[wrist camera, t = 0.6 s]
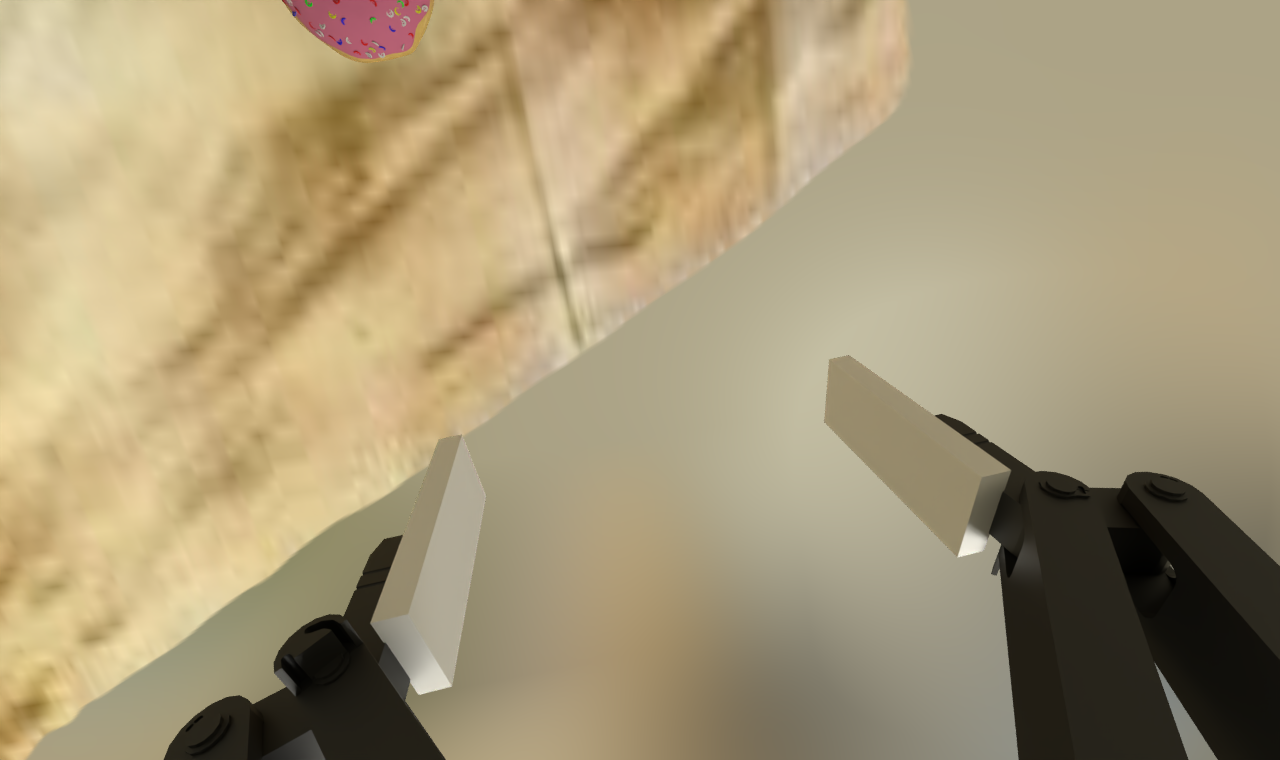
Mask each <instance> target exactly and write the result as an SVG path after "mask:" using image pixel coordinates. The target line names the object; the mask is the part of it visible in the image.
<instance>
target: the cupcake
mask: <svg viewBox="0 0 1280 760" xmlns="http://www.w3.org/2000/svg"><path fill="white" fill-rule="evenodd" d="M282 1H283V2H284V3H285V5H286V6H287V8H288V9H289V11H290V12H291V13H292V15H293V16H294V17H295V18H296V19H297V20H298V21H299V23H300V24H302V25H303V26H304V27H305V28H306V29H307V30H308V31H309V32H311V33H312V34H313V35H315V36H316V37H317V38H318V39H320V40H321V41H322V42H324V43H325V44H326V45H328V46H329V47H331V48H332V49H333V50H335V51H336V52H337V53H339V54H340V55H342V56H344V57H346V58H349V59H351V60H354V61H358V62H364V63H370V62H379V61H385V60H390V59H394V58H398V57H402V56H406V55H409V54H411V53H413V52H414V51H415V49H416V48H417V46H418V44H419V42H420V40H421V38H422V36H423V34H424V32H425V30H426V28H427V25H428V23H429V20H430V17H431V14H432V10H433V5H434V0H282Z"/></svg>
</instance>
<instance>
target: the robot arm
mask: <svg viewBox="0 0 1280 760" xmlns="http://www.w3.org/2000/svg"><path fill="white" fill-rule="evenodd" d="M824 422H825V423H826V424H827V425H828V426H829V427H830V428H831V429H832V430H833V431H834V432H835V433H836V434H837V435H838V436H839V437H840V439H841V440H842V441H844V443H845V444H846V445H847V446H848V447H849V448H850V449H851V450H852V451H853V452H854V453H855V454H856V455H857V456H858V457H859V458H860V459H861V460H862V461H863V462H864V463H865V464H866V465H867V466H868V467H869V468H870V469H871V470H872V471H873V472H874V473H875V474H876V475H877V476H878V477H879V478H880V479H881V480H882V481H883V482H884V483H885V484H886V485H887V486H888V487H889V488H890V489H891V490H892V491H893V492H894V493H895V494H896V495H897V496H898V497H899V498H900V499H901V500H902V501H903V502H904V503H905V505H907V507H908V508H910V510H911V511H912V512H913V513H914V514H915V515H916V516H917V517H918V518H919V519H920V520H921V521H922V522H923V523H924V524H925V525H926V526H927V527H928V528H929V529H930V530H931V531H932V532H933V533H934V534H935V535H936V536H937V537H938V538H939V539H940V540H941V541H942V542H943V543H944V544H945V545H946V546H947V547H948V548H949V549H950V550H951V551H952V552H953V553H954V554H955V555H956V556H957V557H961V556H965V555H969V554H972V553H977V552H981V551H984V549H985V546H986V543H987V540H988V537H989V534H990V535H992V536H993V537H994V538H995V539H996V540H997V541H998V542H999V543H1001V547H1000V550H999V553H998V555H997V558H996V561H995V563H994V566H993V569H992V573H991V574H993V575H997V573H998V570H999V569H1000V576H1001V584H1002V585H1001V586H1002V596H1003V606H1004V616H1005V626H1006V636H1007V646H1008V656H1009V666H1010V677H1011V686H1012V697H1013V707H1014V716H1015V727H1016V737H1017V747H1018V757H1019V760H1188V757H1187V754H1186V752H1185V749H1184V746H1183V743H1182V740H1181V737H1180V734H1179V732H1178V729H1177V726H1176V723H1175V720H1174V717H1173V714H1172V712H1171V709H1170V706H1169V703H1168V700H1167V697H1166V694H1165V692H1164V689H1163V686H1162V683H1161V680H1160V677H1159V674H1158V672H1157V669H1156V666H1155V663H1156V665H1157V667H1158V668H1159V670H1160V671H1161V673H1162V674H1163V676H1164V677H1165V679H1166V680H1167V682H1168V683H1169V685H1170V687H1171V688H1172V690H1173V691H1174V693H1175V694H1176V696H1177V697H1178V699H1179V700H1180V702H1181V703H1182V705H1183V707H1184V708H1185V710H1186V711H1187V713H1188V714H1189V716H1190V717H1191V719H1192V721H1193V722H1194V724H1195V725H1196V726H1197V728H1198V730H1199V731H1200V733H1201V734H1202V736H1203V737H1204V739H1205V741H1206V742H1207V744H1208V745H1209V747H1210V748H1211V750H1212V751H1213V753H1214V755H1215V756H1216V758H1217V759H1218V760H1280V566H1279V565H1278V564H1277V563H1276V562H1275V561H1274V560H1273V559H1272V558H1271V557H1269V556H1268V555H1267V554H1266V553H1265V552H1264V551H1263V550H1262V549H1261V548H1260V547H1259V546H1258V545H1257V544H1256V543H1255V542H1254V541H1253V540H1251V538H1249V537H1248V536H1247V535H1246V534H1245V533H1244V532H1243V531H1242V530H1241V529H1240V528H1239V527H1238V526H1237V525H1236V524H1235V523H1234V522H1232V521H1231V520H1230V519H1229V518H1228V517H1227V516H1226V515H1225V514H1224V513H1223V512H1222V511H1221V510H1220V509H1219V508H1218V507H1217V506H1216V505H1215V504H1214V503H1213V502H1211V501H1210V500H1209V499H1208V498H1207V497H1206V496H1205V495H1204V494H1203V493H1202V492H1200V491H1199V490H1197V489H1196V488H1194V487H1193V486H1191V485H1190V484H1187V483H1185V482H1183V481H1181V480H1179V479H1177V478H1173V477H1169V476H1167V475H1163V474H1158V473H1151V472H1135V473H1132V474H1130V475H1128V476H1127V478H1126V480H1125V481H1124V484H1123V485H1122V488H1089V487H1088V486H1086V485H1085V484H1083V483H1082V482H1080V481H1078V480H1076V479H1074V478H1072V477H1070V476H1067V475H1063V474H1060V473H1056V472H1047V471H1039V472H1035V471H1033V470H1032V469H1030V468H1029V467H1027V466H1026V465H1024V464H1023V463H1022V462H1020V461H1019V460H1017V459H1016V458H1014V457H1013V456H1011V455H1010V454H1008V453H1007V452H1005V451H1004V450H1002V449H1001V448H1000V447H998V446H997V445H995V444H994V443H992V442H989V441H988V439H986V438H984V437H983V436H982V435H980V434H977V433H976V431H974V430H973V429H971V428H970V427H968V426H967V425H966V424H964V423H963V422H961V421H959V420H956V419H953V418H951V417H948V416H946V415H943V414H939V415H935V416H934V415H933V414H931V413H930V412H928V411H926V410H925V409H924V408H923V407H921V406H920V405H918V404H917V403H916V402H914V401H913V400H911V399H910V398H909V397H907V396H906V395H904V394H903V393H902V392H900V391H899V390H897V389H896V388H894V387H893V386H892V385H890V384H889V383H887V382H886V381H885V380H883V379H882V378H880V377H879V376H878V375H876V374H875V373H873V372H872V371H871V370H869V369H868V368H866V367H865V366H863V365H862V364H861V363H859V362H858V361H856V360H855V359H854V358H852V357H851V356H849V355H848V356H843V357H838V358H834V359H830V360H829V369H828V381H827V394H826V407H825V419H824ZM485 499H486V494H485V492H484V489H483V487H482V484H481V482H480V479H479V477H478V474H477V472H476V469H475V466H474V464H473V461H472V459H471V456H470V454H469V451H468V449H467V446H466V443H465V441H464V438H463V436H462V435H458V436H453V437H448V438H443V439H439V440H438V443H437V446H436V448H435V451H434V454H433V456H432V459H431V462H430V464H429V467H428V470H427V473H426V475H425V478H424V480H423V483H422V486H421V489H420V491H419V494H418V497H417V499H416V502H415V505H414V507H413V510H412V513H411V515H410V518H409V521H408V523H407V526H406V529H405V531H404V534H403V535H401V536H396V537H392V538H387V539H384V540H383V541H382V542H381V544H380V545H379V546H378V547H377V548H376V549H375V551H374V552H373V553H372V554H371V555H370V557H369V559H368V561H367V564H366V566H365V568H364V570H363V576H361V577H360V580H359V582H358V584H357V587H356V588H357V590H355V591H354V593H353V596H352V598H351V600H350V603H349V605H348V607H347V610H346V612H345V614H344V616H343V617H342V616H341V615H330V614H329V615H326V616H323V617H320V618H316V619H314V620H313V621H311V622H309V623H308V624H306V625H304V626H302V627H301V628H300V629H299V630H298V631H297V632H295V633H294V634H293V635H292V636H291V637H289V638H288V640H287V641H286V642H285V644H284V645H283V646H282V647H281V649H280V650H279V652H278V654H277V656H276V659H275V661H274V673H275V675H277V677H278V678H279V679H280V680H281V681H282V682H283V683H284V684H285V685H286V687H285V688H284V689H282V690H280V691H278V692H276V693H274V694H272V695H270V696H268V697H266V698H264V699H262V700H260V701H259V702H256V703H255V704H252V703H251V702H250V701H249V700H248V699H246V698H244V697H242V696H240V695H239V696H231V697H226V698H224V699H222V700H219V701H217V702H215V703H213V704H211V705H210V706H208V707H207V708H205V709H204V710H203V711H201V712H200V713H198V714H197V715H196V716H194V717H193V718H192V719H191V720H190V721H189V722H188V723H187V724H186V725H185V726H184V727H183V728H182V729H181V730H180V732H179V733H178V734H177V736H176V737H175V739H174V740H173V741H172V743H171V744H170V745H169V748H168V751H167V753H166V755H165V758H164V760H446V759H445V758H444V756H443V755H442V753H441V752H440V751H439V749H438V748H437V746H436V745H435V743H434V742H433V740H432V739H431V738H430V736H429V735H428V733H427V732H426V730H425V729H424V727H423V726H422V725H421V723H420V722H419V720H418V719H417V717H416V716H415V715H414V713H413V712H412V710H411V709H410V707H409V706H408V704H407V703H406V702H405V699H406V694H407V691H408V687H409V683H411V684H412V685H413V687H414V688H415V690H416V691H417V693H418V694H419V695H420V694H424V693H428V692H432V691H436V690H440V689H444V688H448V687H451V686H452V683H453V677H454V672H455V666H456V661H457V655H458V649H459V644H460V638H461V632H462V627H463V622H464V616H465V611H466V605H467V600H468V594H469V588H470V583H471V577H472V571H473V566H474V561H475V555H476V549H477V544H478V537H479V532H480V527H481V521H482V516H483V510H484V505H485ZM1170 564H1171V565H1172V567H1173V568H1174V570H1173V569H1172V568H1171V567H1170ZM1154 662H1155V663H1154Z"/></svg>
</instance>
